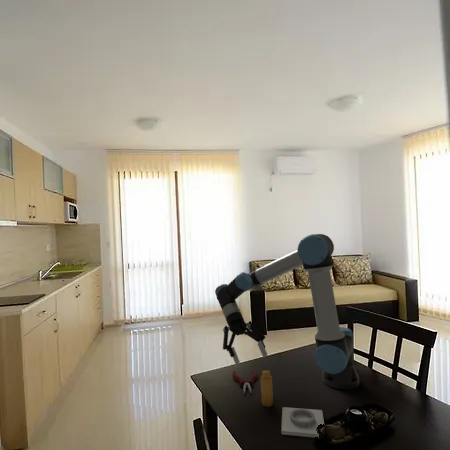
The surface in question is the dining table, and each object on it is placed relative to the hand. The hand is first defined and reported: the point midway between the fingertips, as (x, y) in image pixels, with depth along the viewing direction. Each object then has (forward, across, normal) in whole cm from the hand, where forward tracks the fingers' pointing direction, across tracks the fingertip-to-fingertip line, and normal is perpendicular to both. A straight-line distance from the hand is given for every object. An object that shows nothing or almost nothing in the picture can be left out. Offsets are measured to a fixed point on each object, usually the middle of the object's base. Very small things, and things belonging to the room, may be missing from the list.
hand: (252, 360), depth 131 cm
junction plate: (+28, -3, +9) cm, 29 cm away
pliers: (+3, -1, -17) cm, 18 cm away
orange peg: (+16, 0, -3) cm, 16 cm away
